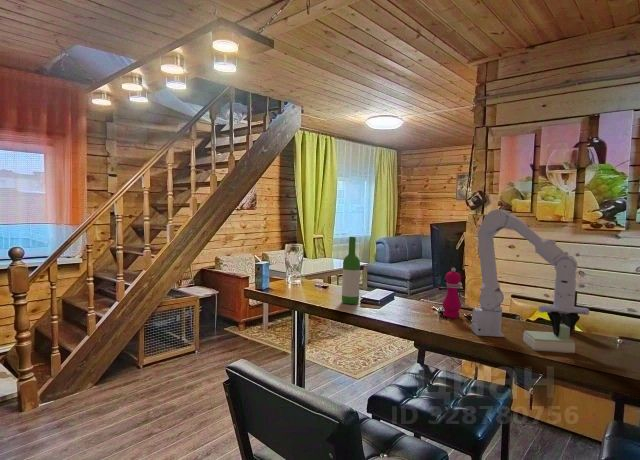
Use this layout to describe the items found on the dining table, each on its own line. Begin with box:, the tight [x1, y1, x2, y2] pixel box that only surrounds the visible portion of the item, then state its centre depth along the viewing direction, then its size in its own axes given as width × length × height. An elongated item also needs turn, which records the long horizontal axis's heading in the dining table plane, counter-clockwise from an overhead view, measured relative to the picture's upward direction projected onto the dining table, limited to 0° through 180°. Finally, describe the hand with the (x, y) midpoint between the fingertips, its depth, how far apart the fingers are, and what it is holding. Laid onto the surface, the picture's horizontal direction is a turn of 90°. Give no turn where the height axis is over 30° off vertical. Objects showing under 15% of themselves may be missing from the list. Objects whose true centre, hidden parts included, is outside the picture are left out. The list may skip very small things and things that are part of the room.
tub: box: [522, 332, 576, 354], centre depth 130 cm, size 12×9×3 cm
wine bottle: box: [341, 236, 361, 305], centre depth 182 cm, size 8×8×30 cm
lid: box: [523, 324, 575, 344], centre depth 130 cm, size 12×9×4 cm
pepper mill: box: [442, 267, 462, 319], centre depth 164 cm, size 7×7×20 cm
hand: (561, 335), depth 130 cm, fingers closed on lid, 3 cm apart
